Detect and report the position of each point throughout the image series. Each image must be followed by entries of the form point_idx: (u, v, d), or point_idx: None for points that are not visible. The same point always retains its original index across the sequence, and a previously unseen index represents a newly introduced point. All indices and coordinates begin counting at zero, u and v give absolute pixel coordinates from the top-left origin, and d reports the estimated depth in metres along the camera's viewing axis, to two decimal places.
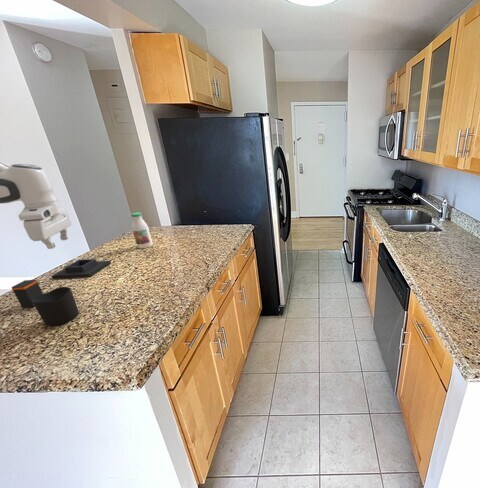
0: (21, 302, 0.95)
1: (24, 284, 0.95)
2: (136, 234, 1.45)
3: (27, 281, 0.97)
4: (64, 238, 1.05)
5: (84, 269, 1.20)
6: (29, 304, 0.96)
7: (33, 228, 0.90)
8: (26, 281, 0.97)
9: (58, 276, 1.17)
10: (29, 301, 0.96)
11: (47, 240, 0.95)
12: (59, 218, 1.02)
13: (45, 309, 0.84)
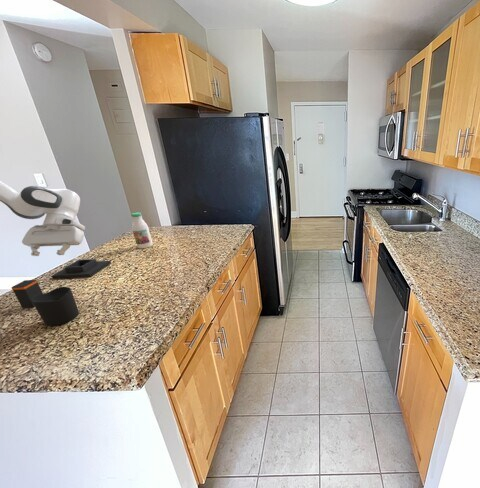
0: (21, 302, 0.95)
1: (24, 284, 0.95)
2: (136, 234, 1.45)
3: (27, 281, 0.97)
4: (37, 254, 1.05)
5: (84, 269, 1.20)
6: (29, 304, 0.96)
7: (80, 233, 1.09)
8: (26, 281, 0.97)
9: (58, 276, 1.17)
10: (29, 301, 0.96)
11: (68, 246, 1.07)
12: None
13: (45, 309, 0.84)
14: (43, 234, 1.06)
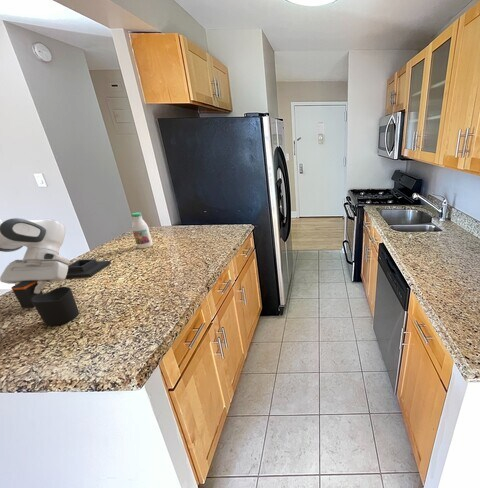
0: (21, 302, 0.95)
1: (24, 284, 0.95)
2: (136, 234, 1.45)
3: (27, 281, 0.97)
4: None
5: (84, 269, 1.20)
6: (29, 304, 0.96)
7: (63, 268, 1.01)
8: (26, 281, 0.97)
9: None
10: (29, 301, 0.96)
11: (45, 284, 0.99)
12: None
13: (45, 309, 0.84)
14: (23, 270, 0.98)
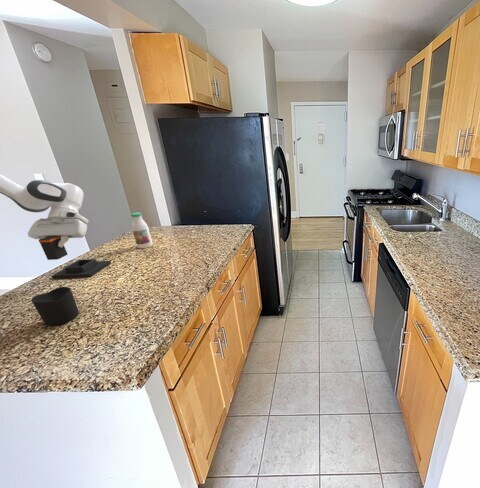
0: (46, 254, 1.07)
1: (49, 238, 1.06)
2: (136, 234, 1.45)
3: (52, 236, 1.08)
4: None
5: (84, 269, 1.20)
6: (54, 256, 1.08)
7: (83, 226, 1.12)
8: (51, 236, 1.08)
9: (58, 276, 1.17)
10: (54, 253, 1.07)
11: (67, 239, 1.10)
12: None
13: (45, 309, 0.84)
14: (48, 227, 1.09)
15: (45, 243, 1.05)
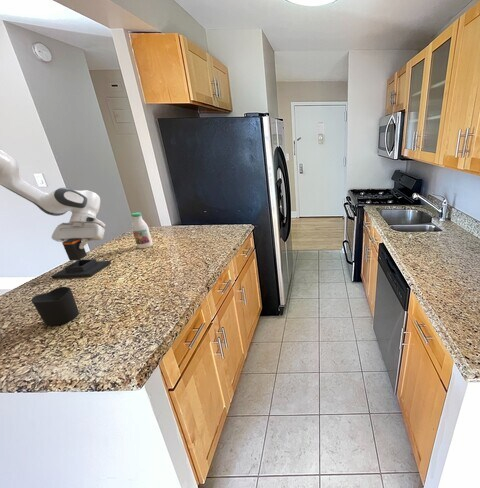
0: (69, 255, 1.18)
1: (71, 240, 1.17)
2: (136, 234, 1.45)
3: (73, 239, 1.19)
4: None
5: (84, 269, 1.20)
6: (75, 257, 1.19)
7: (101, 230, 1.24)
8: (72, 239, 1.19)
9: (58, 276, 1.17)
10: (76, 254, 1.18)
11: (87, 241, 1.21)
12: None
13: (45, 309, 0.84)
14: (70, 230, 1.21)
15: (68, 245, 1.16)
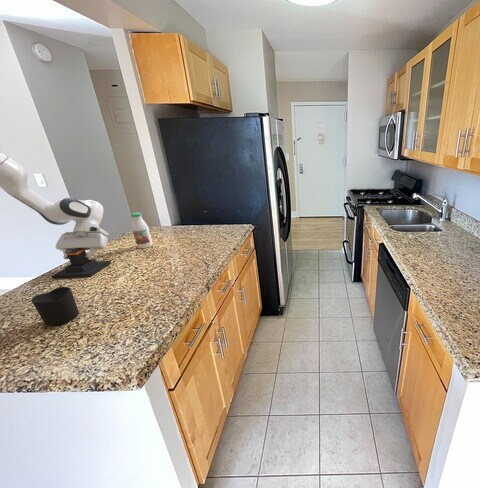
0: (73, 265, 1.20)
1: (76, 251, 1.19)
2: (136, 234, 1.45)
3: (77, 249, 1.21)
4: None
5: (84, 269, 1.20)
6: None
7: (104, 239, 1.25)
8: (76, 249, 1.21)
9: (58, 276, 1.17)
10: (80, 264, 1.20)
11: (95, 251, 1.23)
12: None
13: (45, 309, 0.84)
14: (73, 240, 1.22)
15: (72, 256, 1.18)
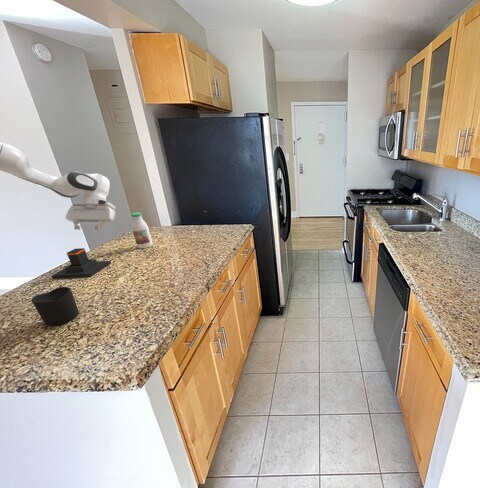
0: (73, 265, 1.20)
1: (76, 251, 1.19)
2: (136, 234, 1.45)
3: (77, 249, 1.21)
4: (79, 228, 1.28)
5: (84, 269, 1.20)
6: None
7: (112, 212, 1.32)
8: (76, 249, 1.21)
9: (58, 276, 1.17)
10: (80, 264, 1.20)
11: (104, 223, 1.31)
12: None
13: (45, 309, 0.84)
14: (83, 212, 1.29)
15: (72, 256, 1.18)
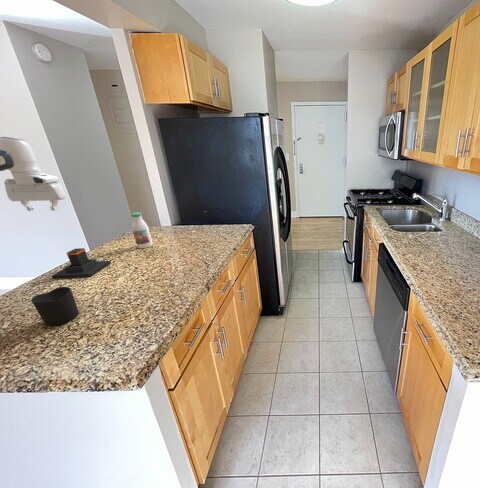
0: (73, 265, 1.20)
1: (76, 251, 1.19)
2: (136, 234, 1.45)
3: (77, 249, 1.21)
4: (33, 208, 1.14)
5: (84, 269, 1.20)
6: None
7: (58, 188, 1.12)
8: (76, 249, 1.21)
9: (58, 276, 1.17)
10: (80, 264, 1.20)
11: (57, 201, 1.15)
12: None
13: (45, 309, 0.84)
14: (24, 191, 1.10)
15: (72, 256, 1.18)
